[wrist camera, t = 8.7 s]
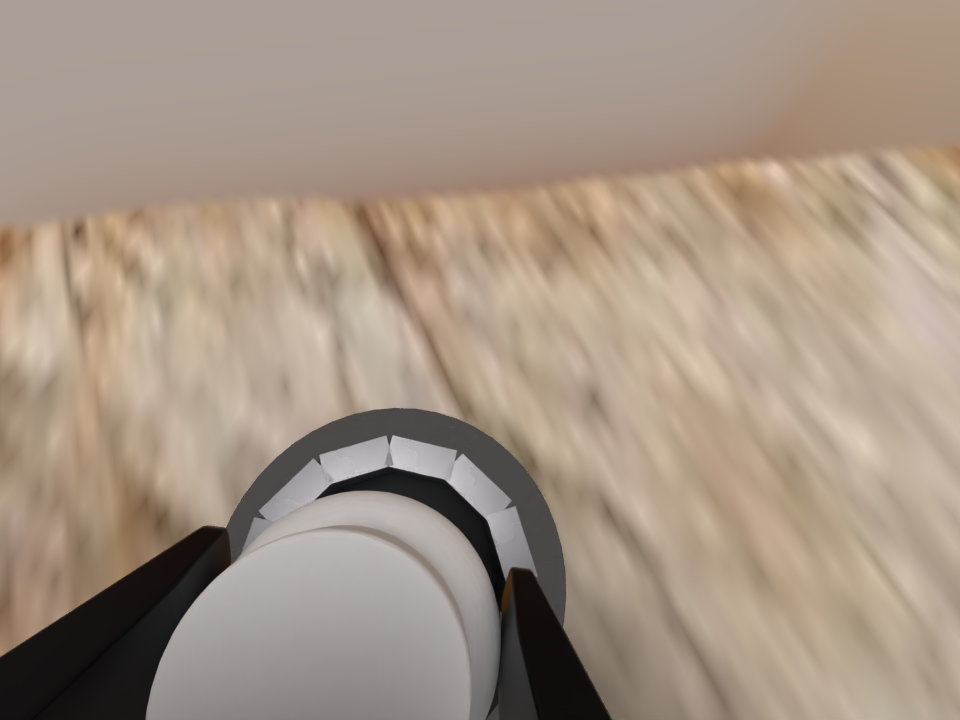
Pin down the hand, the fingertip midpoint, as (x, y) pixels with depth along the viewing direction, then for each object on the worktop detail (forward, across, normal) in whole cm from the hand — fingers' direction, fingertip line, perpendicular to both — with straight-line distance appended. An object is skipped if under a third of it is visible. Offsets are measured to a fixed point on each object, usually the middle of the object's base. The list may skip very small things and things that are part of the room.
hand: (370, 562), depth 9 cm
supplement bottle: (+4, 0, +6) cm, 7 cm away
